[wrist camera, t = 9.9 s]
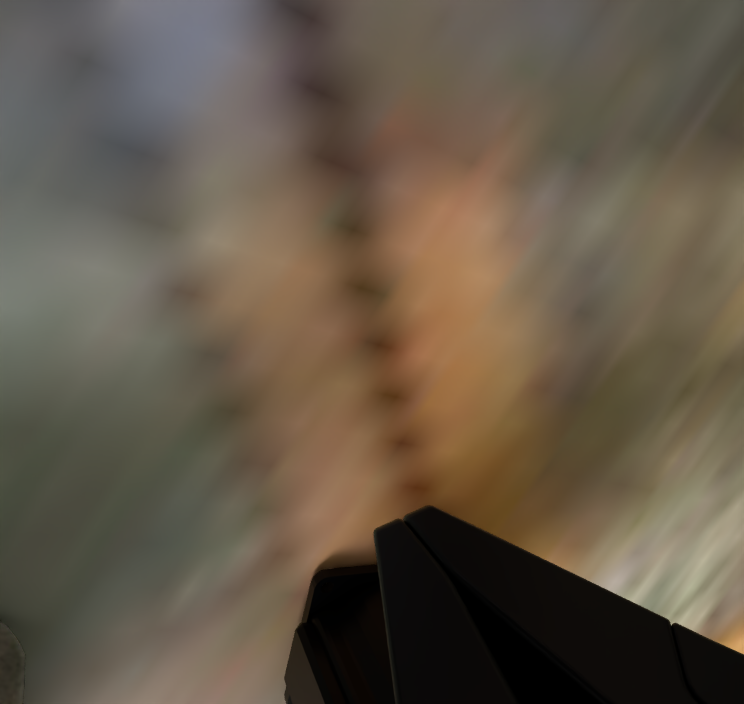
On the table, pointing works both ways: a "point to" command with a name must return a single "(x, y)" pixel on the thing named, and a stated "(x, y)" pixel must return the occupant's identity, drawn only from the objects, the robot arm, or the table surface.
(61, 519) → the table surface
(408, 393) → the table surface
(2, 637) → the vintage camera
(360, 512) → the table surface
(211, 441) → the table surface
